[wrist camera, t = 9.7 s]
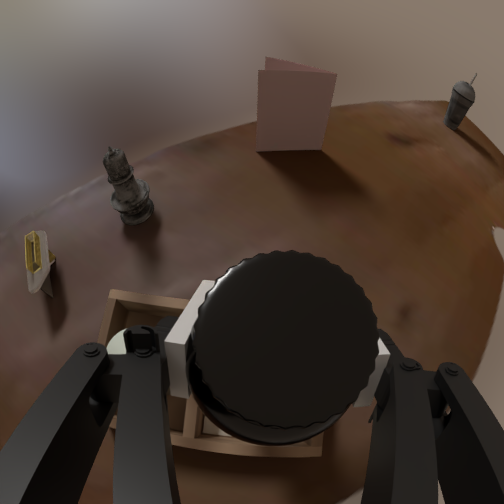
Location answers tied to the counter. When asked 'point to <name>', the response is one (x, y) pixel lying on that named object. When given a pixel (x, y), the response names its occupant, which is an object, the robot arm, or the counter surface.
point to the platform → (38, 262)
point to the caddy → (186, 410)
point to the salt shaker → (127, 189)
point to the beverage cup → (459, 103)
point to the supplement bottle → (281, 348)
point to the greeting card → (292, 106)
